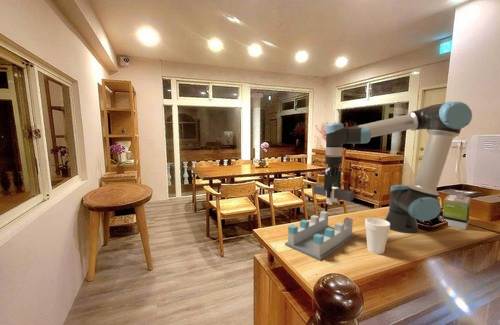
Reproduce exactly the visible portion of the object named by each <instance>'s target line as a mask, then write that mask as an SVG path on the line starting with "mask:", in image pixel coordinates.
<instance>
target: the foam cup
mask: <svg viewBox="0 0 500 325" xmlns="http://www.w3.org/2000/svg"><path fill="white" fill-rule="evenodd" d="M364 226H365V234H366V235H365V236H366V245H367V246H366V247H367V251H368V252H370V253H372V254H375V255H381V254H382V255H383V254H385V249H386V245H387V241H388V237H389V232H390V230H391V229H390V222H388V221H386V220H385V219H383V218H378V217H367V218H365V219H364Z"/></svg>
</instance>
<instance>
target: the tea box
mask: <svg viewBox="0 0 500 325" xmlns="http://www.w3.org/2000/svg"><path fill="white" fill-rule="evenodd" d="M471 201H472V198H471V197H470V196H462V195H455V194H454V195H453V194H448V195H447V196H446V197H445V198H444V200H443V211H442V212H443V213H442V220H443V219H444V220H446V221H447V222H448V227H450V226H451V227H452V228H456V229H460V230H465V231H466V230H467V227H468V225H469V222H470V214H471V203H472V202H471Z"/></svg>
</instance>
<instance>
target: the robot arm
mask: <svg viewBox="0 0 500 325" xmlns="http://www.w3.org/2000/svg"><path fill="white" fill-rule="evenodd" d="M472 119H473V112H472V109H471V108H470V106H468V105H467V103H465V102H462V101H448V102H442V103H437V104H432V105H428V106H424V107H422V108H420V109H417V110H412V111H409V112H408V113H407V114H405V115H400V116H399V115H398V116H395V117H391V118H387V119H386V118H385V119H382V120H376V121H373V122H369V123H364V124H359V125H355V126H351V127H344V123H343V122H342V123H341V122H340V123H339V122H338V123H336V122H335V123H328V124H327V125H326V131H325V149H324V150H325V158H324V159H325V160H324V161H325V162H324V163H325V164H326V165H327V168H326V169H324V170H323V175H324V176H323V178H324V180H323V186H324V190H325V191H327V197H325V199H326V200H325V201H326V203H325V204H326V205H331V206H332V205H333V202H334V203H338V202H339V199H336V198H334V199H333V198H332V197H333V191H332V187H337V188H339V189H341V186H342V171H343V167H340V165H342V163H343V157H342V156H343V145H344V144H368V143H369V142H370V141H371V138H375V137H380V136H384V135H389V134H395V133H399V132H403V131H405V132H406V131H409V130H410V131H417V130H420V131H421V130H426V133H428V138H427V142H426V144H425V148H424V151H423V154H422V156H421V160H420V163H419V167H418V169H417V173H416V175H415V180H414V183H413V184H412V185H408V184H394V185H391V186H390V190H389V204H388V205H389V207H388V213H387V214H386V217H385V219H384V220H386V221H388V222H390V230H393V231H395V232H399V233H406V234H414V233H417V232H418V231H419V224H418V221H417V220H419V221H423V222H427V221H431V220H434V219H435V218H437V217H438V216H439V215H440V213H441V210H442V207H441V204H440V202H439V200H438V199H439V196H440V193H439V192H438V191H437V189H438V186H439V183H440V178H441V176H442V172H443V170H444V168H445V165H446V162H447V158H448V156H449V153H450V149H451V147H452V145H453V144H452V143H453V141H454V138H456V137H458V136H460V134H461V130H462V129H463V128H466V127H467V126H468V125H470V123H471V121H472Z"/></svg>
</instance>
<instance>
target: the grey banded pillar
mask: <svg viewBox="0 0 500 325" xmlns="http://www.w3.org/2000/svg"><path fill="white" fill-rule="evenodd" d="M339 188H340V187H339ZM339 188H337V187H333V186H332V191H333V197H332V198H333V199H334V198H336V199H338V200H342V201H345V202H346V201H347V202H352V201H353V200H354V193H355V192H354V190H348V189H344V188H340V189H339ZM312 190H313V191H312V194H314V195H319V196H323V197H325V198H327V191H325V190H324V185H321V184H315V185H313V186H312Z"/></svg>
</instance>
